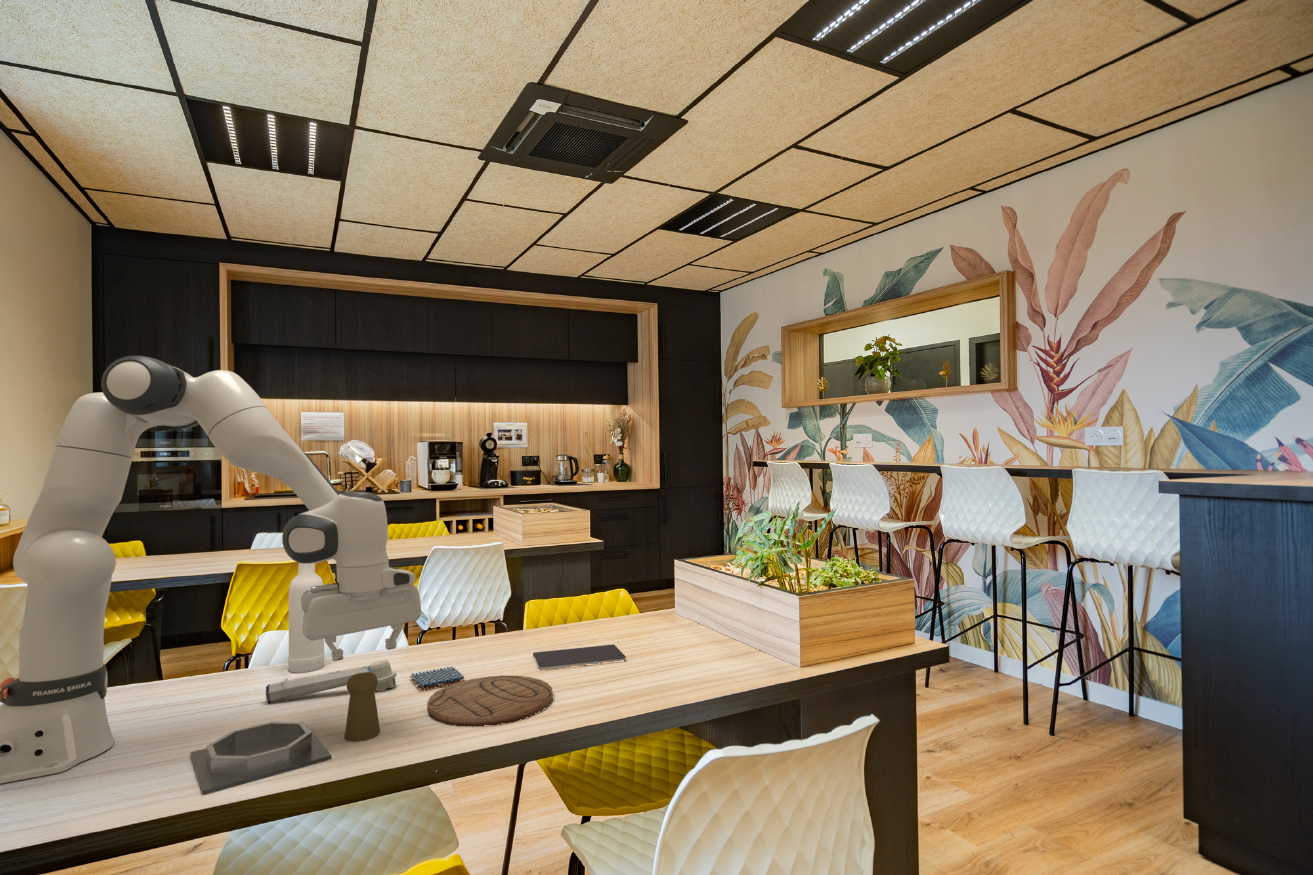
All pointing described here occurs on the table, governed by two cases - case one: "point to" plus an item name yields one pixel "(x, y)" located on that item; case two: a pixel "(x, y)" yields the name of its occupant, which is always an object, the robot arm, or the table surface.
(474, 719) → the trivet
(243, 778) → the duct collar
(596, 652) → the notebook
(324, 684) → the toothbrush head
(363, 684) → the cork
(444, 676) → the woven mat
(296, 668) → the bottle
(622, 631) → the table surface
